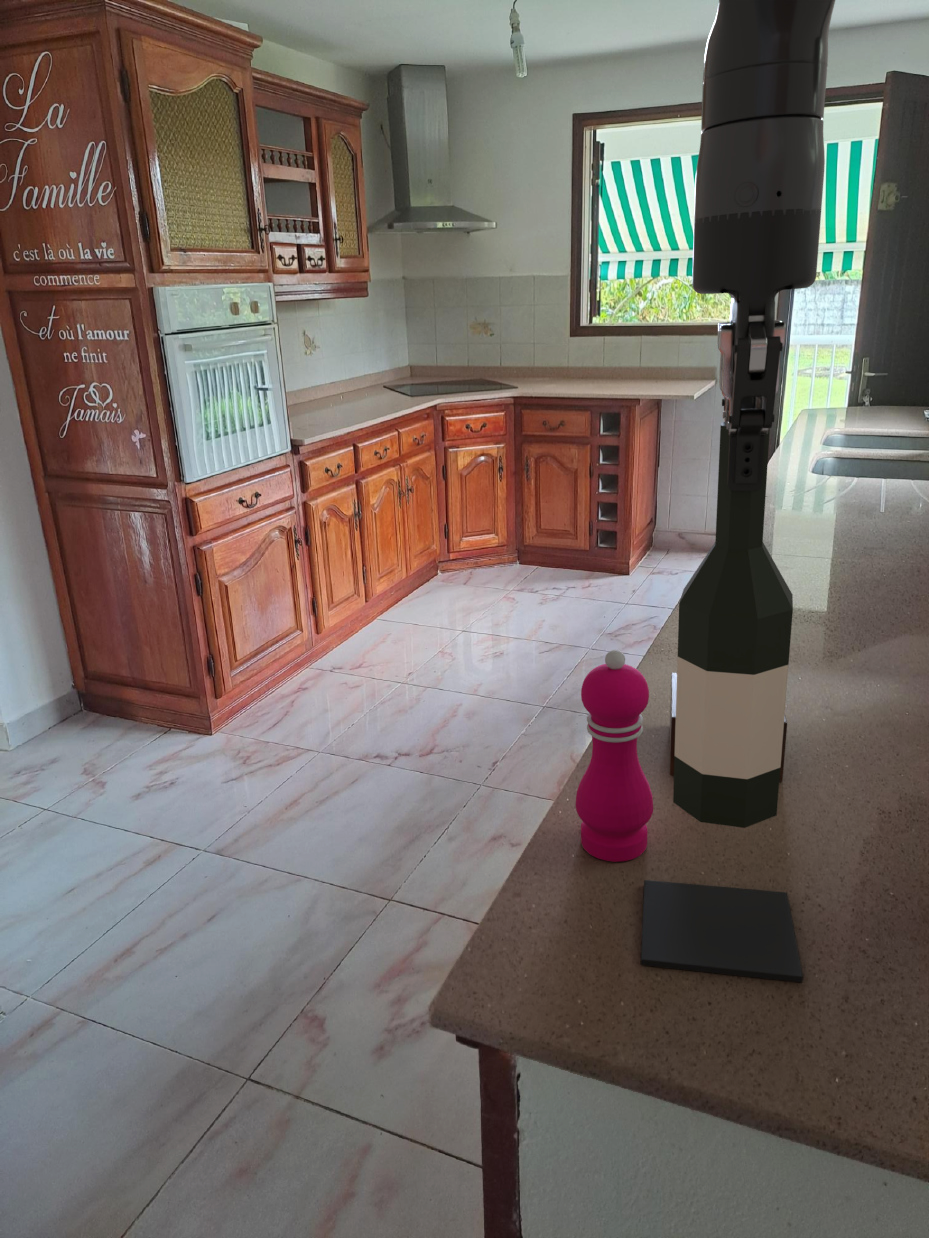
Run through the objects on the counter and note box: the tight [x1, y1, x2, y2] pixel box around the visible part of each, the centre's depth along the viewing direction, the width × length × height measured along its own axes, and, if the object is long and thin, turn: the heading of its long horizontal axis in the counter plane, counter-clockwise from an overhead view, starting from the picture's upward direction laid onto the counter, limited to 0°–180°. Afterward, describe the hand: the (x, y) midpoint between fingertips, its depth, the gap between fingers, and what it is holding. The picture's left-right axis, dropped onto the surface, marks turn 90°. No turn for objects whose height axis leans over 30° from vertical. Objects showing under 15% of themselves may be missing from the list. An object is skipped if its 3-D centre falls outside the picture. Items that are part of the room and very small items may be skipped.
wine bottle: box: [672, 411, 794, 829], centre depth 64 cm, size 8×8×30 cm
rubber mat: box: [640, 879, 804, 983], centre depth 72 cm, size 12×10×1 cm
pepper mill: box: [575, 649, 654, 863], centre depth 81 cm, size 7×7×20 cm
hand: (742, 482), depth 61 cm, fingers closed on wine bottle, 3 cm apart
